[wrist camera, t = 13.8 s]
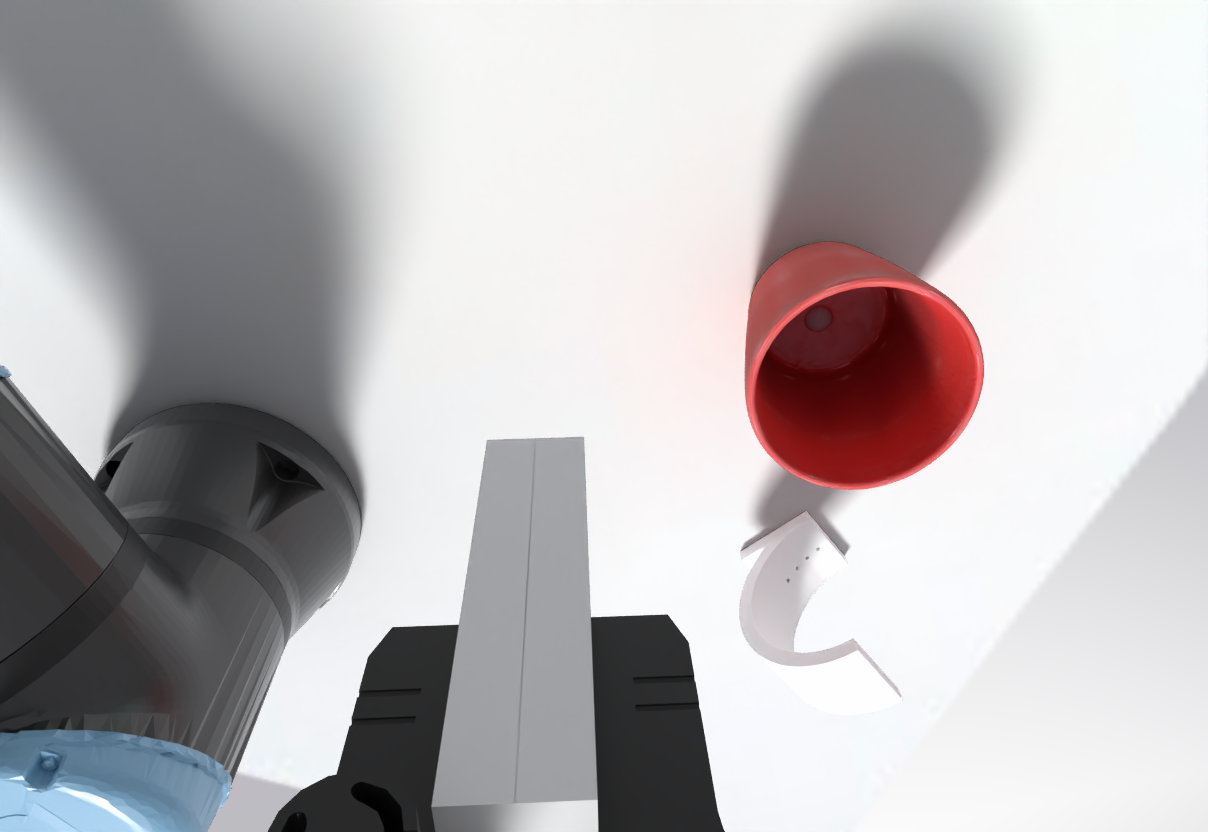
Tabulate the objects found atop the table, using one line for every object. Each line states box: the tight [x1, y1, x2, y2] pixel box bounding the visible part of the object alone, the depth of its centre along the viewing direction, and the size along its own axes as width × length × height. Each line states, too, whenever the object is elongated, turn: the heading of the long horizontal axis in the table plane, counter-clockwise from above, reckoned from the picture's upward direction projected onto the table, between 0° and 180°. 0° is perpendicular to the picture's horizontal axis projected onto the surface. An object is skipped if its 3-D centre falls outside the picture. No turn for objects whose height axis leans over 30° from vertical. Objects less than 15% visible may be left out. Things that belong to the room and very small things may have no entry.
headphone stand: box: [739, 511, 903, 715], centre depth 52 cm, size 5×6×12 cm
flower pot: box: [745, 242, 984, 490], centre depth 44 cm, size 11×11×10 cm
